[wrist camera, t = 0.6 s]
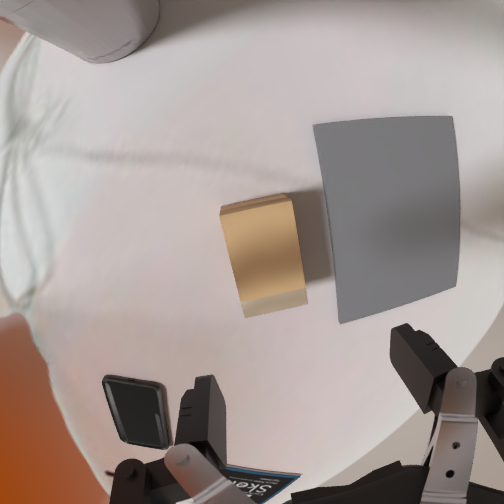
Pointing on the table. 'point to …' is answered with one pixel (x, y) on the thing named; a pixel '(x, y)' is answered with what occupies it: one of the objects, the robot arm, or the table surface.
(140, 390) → the phone
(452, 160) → the mat
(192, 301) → the table surface
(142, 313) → the table surface
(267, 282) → the block
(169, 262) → the table surface
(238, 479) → the sketchbook
